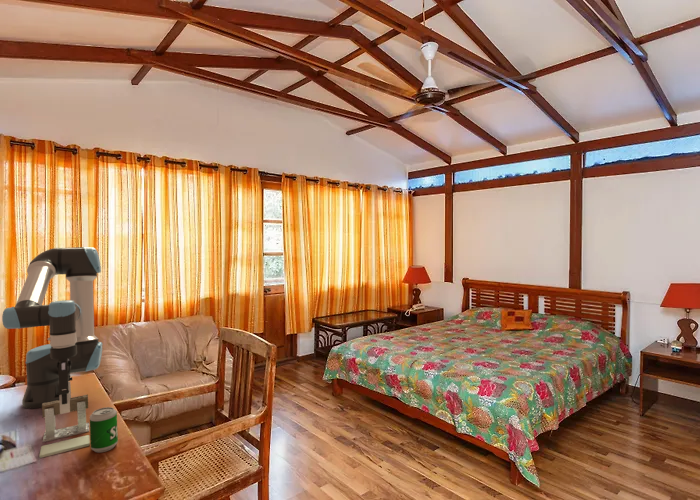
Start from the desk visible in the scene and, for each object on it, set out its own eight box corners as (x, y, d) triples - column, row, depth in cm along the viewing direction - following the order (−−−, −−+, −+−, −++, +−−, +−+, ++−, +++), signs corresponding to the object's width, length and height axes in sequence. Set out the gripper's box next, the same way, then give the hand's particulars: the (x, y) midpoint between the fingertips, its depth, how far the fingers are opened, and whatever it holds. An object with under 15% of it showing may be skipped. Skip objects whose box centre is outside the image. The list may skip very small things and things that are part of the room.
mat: (41, 448, 131) (41, 446, 131) (89, 437, 138) (89, 434, 138) (39, 458, 125) (39, 455, 125) (89, 445, 132) (89, 443, 132)
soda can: (105, 454, 126) (104, 416, 126) (84, 452, 128) (83, 415, 127) (123, 442, 133) (122, 406, 133) (103, 441, 135) (102, 405, 135)
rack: (44, 434, 141) (43, 404, 140) (89, 423, 148) (87, 395, 148) (42, 442, 135) (41, 411, 135) (89, 431, 142) (88, 401, 142)
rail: (42, 417, 136) (41, 405, 136) (43, 414, 139) (42, 403, 139) (88, 408, 144) (87, 397, 143) (88, 405, 146) (87, 394, 146)
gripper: (52, 340, 149) (54, 397, 149) (47, 355, 128) (49, 421, 128) (77, 337, 153) (79, 393, 153) (75, 351, 132) (78, 415, 133)
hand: (65, 406), depth 141 cm, fingers open, 13 cm apart
